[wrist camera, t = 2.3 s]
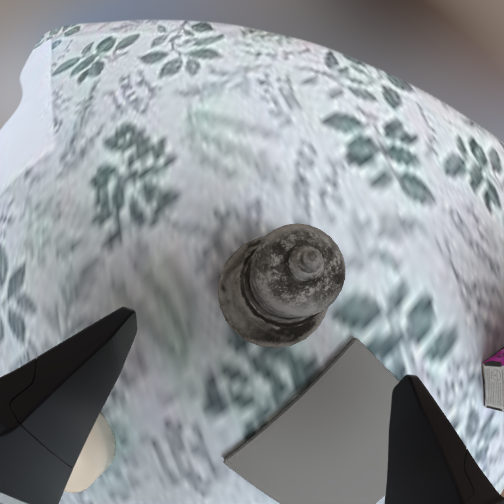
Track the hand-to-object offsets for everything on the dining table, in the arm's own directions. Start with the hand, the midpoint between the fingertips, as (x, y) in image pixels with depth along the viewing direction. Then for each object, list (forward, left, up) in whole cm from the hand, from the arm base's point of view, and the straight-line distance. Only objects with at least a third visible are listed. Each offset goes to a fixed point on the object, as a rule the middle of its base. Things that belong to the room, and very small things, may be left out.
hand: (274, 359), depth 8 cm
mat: (-2, -11, -10) cm, 15 cm away
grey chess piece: (+2, +1, -10) cm, 10 cm away
